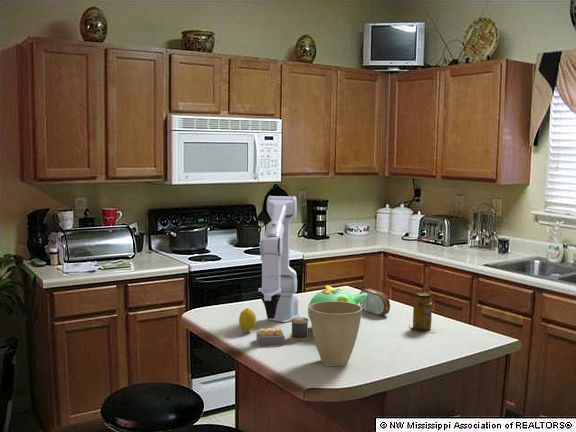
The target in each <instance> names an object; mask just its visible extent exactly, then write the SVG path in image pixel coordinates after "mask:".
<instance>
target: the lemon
mask: <svg viewBox="0 0 576 432" xmlns="http://www.w3.org/2000/svg"><path fill="white" fill-rule="evenodd" d="M238 323H239V326H240V328H241V329H242V330H244V331H245V332H246V333H249V332H250V331H252V330H253V329H254V328H255V327H256V323H257V317H256V313H255V312H254V311H253V310H252V309H249V308H248V307H247V308H246V309H244V310H241V312H240V314H239V318H238Z"/></svg>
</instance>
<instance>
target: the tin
mask: <svg viewBox="0 0 576 432" xmlns="http://www.w3.org/2000/svg"><path fill="white" fill-rule="evenodd" d="M363 293H366V294H367V297H366V298H365V299H364V300H362V301H361V302H360V303H359V305H360V306H361V307H362V311H365V312H368V313H370V314H374V315H377V316H380V317H381V316H385V315H388V314H389V312H390V310H391V304H390V299H389V298H388V296H387V295H386V293H385V292H381V291H379V290H375V289H373V288H366V289H363V290H361V291H360V292H359V294H363Z"/></svg>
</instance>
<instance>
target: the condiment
mask: <svg viewBox="0 0 576 432" xmlns="http://www.w3.org/2000/svg"><path fill="white" fill-rule="evenodd" d="M412 309H413V310H412V313H413V314H412V324H410V325H409V324H408V327H409V328H410V329H411V330H412V331H413V333H417V334H431V333H432V334H436V333H437V332H436V331H435V330H434V329H433V328H432V321H433V320H432V319H433V318H432V317H433V316H432V313H433V312H432V310H433V303H432V295H431V294H430V293H428V292H417V293H415V294H414V301H413V308H412Z"/></svg>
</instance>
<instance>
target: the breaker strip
mask: <svg viewBox="0 0 576 432" xmlns="http://www.w3.org/2000/svg"><path fill="white" fill-rule="evenodd" d="M274 328H275V329H274ZM274 328H272V327H270V328H268V327H267V328H259V331H256V333H255V334H256V335H255V337H256V342H257V345H258V347H267V346H268V347H270V346H271V345H274V346H285V345H286V344H285V341H286V340H285V339H286V337H285V335H284V332H283V331H282V329H281V327H274ZM266 329H267V330H266ZM271 347H272V346H271Z"/></svg>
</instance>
